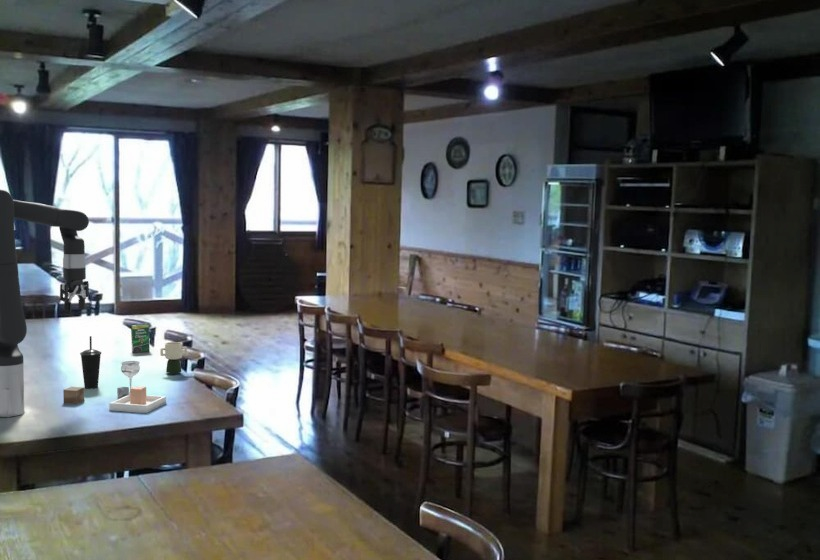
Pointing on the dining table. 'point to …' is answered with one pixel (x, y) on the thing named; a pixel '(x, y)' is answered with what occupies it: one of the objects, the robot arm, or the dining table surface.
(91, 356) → the drinking cup
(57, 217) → the robot arm
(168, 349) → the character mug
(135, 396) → the terracotta block
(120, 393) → the grey cube
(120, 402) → the tray
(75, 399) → the walnut cube
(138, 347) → the coffee box
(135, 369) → the wineglass
